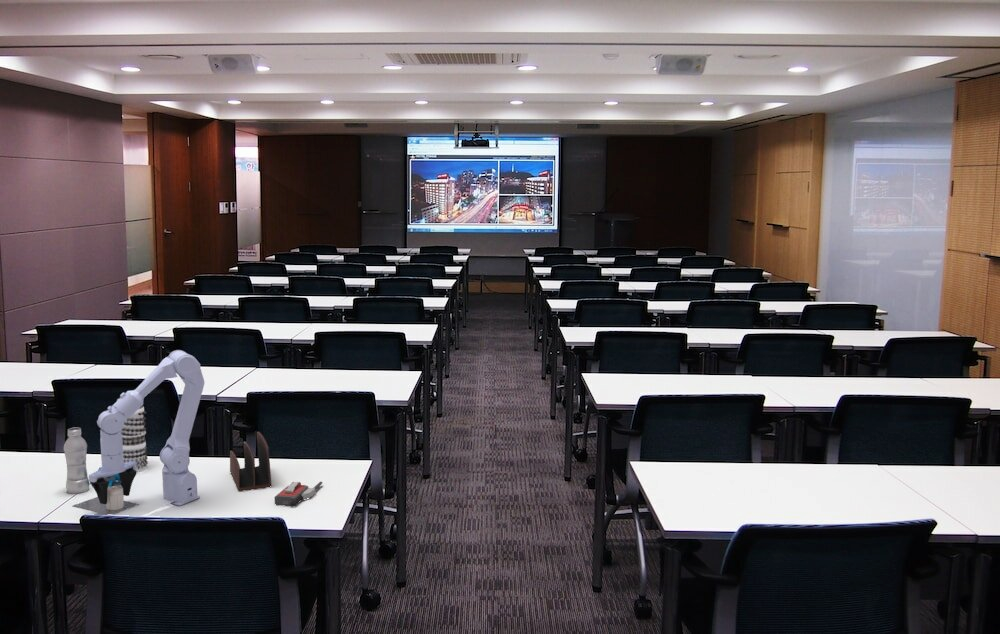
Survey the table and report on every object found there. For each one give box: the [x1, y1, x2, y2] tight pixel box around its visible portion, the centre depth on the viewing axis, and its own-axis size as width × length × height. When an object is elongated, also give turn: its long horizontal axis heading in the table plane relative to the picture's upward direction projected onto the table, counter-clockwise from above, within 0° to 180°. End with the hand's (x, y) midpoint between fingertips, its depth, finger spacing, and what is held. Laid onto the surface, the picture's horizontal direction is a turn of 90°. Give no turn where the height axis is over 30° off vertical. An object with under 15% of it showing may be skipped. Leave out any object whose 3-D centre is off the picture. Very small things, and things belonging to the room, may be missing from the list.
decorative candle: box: [116, 395, 149, 473], centre depth 288 cm, size 9×9×25 cm
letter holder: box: [229, 431, 272, 492], centre depth 278 cm, size 10×20×14 cm, turn 24°
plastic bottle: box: [63, 427, 91, 495], centre depth 264 cm, size 6×7×20 cm
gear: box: [98, 466, 121, 487], centre depth 270 cm, size 11×6×10 cm
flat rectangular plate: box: [71, 496, 140, 515], centre depth 253 cm, size 16×10×4 cm, turn 63°
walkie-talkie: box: [274, 481, 323, 507], centre depth 265 cm, size 9×4×20 cm
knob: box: [106, 485, 125, 510], centre depth 251 cm, size 4×4×6 cm
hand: (114, 499), depth 251 cm, fingers open, 7 cm apart
